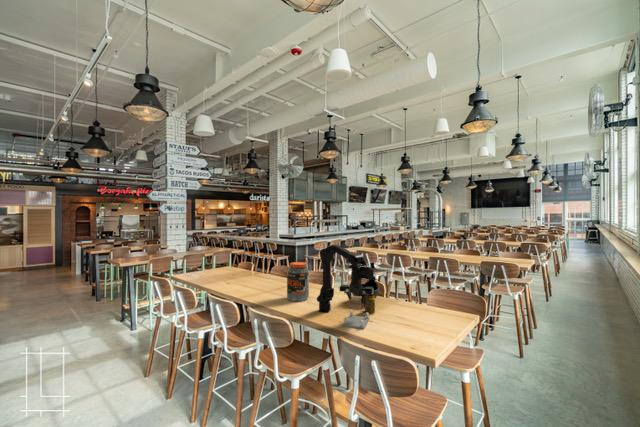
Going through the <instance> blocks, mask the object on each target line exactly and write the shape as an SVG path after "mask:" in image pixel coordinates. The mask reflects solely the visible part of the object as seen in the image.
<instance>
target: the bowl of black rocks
mask: <svg viewBox="0 0 640 427" xmlns="http://www.w3.org/2000/svg"><path fill="white" fill-rule="evenodd" d="M362 280H363V278H362ZM366 287H373V288H374V292H373V293H374V298H375V299H376V298H377V297H378V296H379V293H380V287H379V286H378V283H377V282H376V280H375V279H374V278H373V279H371V280H367V281H366V282H365V283H362V288H366ZM362 293H363V291H358V293H351V294H352V296H362ZM363 304H365V299H364V302H363Z"/></svg>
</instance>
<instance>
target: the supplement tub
mask: <svg viewBox="0 0 640 427" xmlns="http://www.w3.org/2000/svg"><path fill="white" fill-rule="evenodd" d="M286 272H287V273H286V274H287V275H286V276H287V277H286V279H287V280H286V298H287V300H289V301H292V302H303V301H307V300H308V299H309V296H310V295H309V293H310V292H309V290H310V288H309V286H310V282H309V281H310V270H309V268H308V264H307V262H301V261H293V262H290V263H289V268H288V269H287V271H286Z"/></svg>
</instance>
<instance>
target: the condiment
mask: <svg viewBox="0 0 640 427" xmlns="http://www.w3.org/2000/svg"><path fill="white" fill-rule="evenodd" d="M375 304H376V298H374V293H373V294H368V295H366V297H365V303H364V310H362V311H361V310H360V313H361V314H364V315H366V313H369V316H370V315H375V314H378V312H377V311H375V310H376V305H375Z"/></svg>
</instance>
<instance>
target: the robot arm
mask: <svg viewBox="0 0 640 427" xmlns="http://www.w3.org/2000/svg"><path fill="white" fill-rule="evenodd" d="M335 254H337V255H339V256H341V257H343V258H344V259H346V260H347V262H348V263H349V264H350V265H349V266H348V268H349V269H351V279H350V282H349V284H345V283H344V284H343V283H342V284H341V285H340V286H339V288H338V289H339V292H344V294H346V296H347V298H348V300H350V299H351V298H352V296H353V295H352V293H358V291H363V293H362V302H361V305H363V306H364V299H365V297H366V295H368V294H373V292H374V288H373V287H366V288H362V284H363V283H362V282H363V281H362V280H363V279H364V280H367V281H369V280H371V279H373V280H374V276H375V272H374V270H373V268H372V266H368V265H367V263H366V260H365V259H364V256H363V254H361V253H356V252H351V251H349V250H348V249H347V248H344V247H342V246H341V245H339V244H338V243H337V244H335V243H334V244H331V245H330V246H328V247H326V248H322V249H320V251H319V255H320V256H319V257H320V260H321V261H322V286H321V288H320V289H319V290H320V291H319V295H318V296H317V297H316V301H317V303H318V312H319V313H329V312H330V311H331V309H332V308H331V306H332V305H331V301H333V298H334V296H335V289H334V288H333V287H332V283H331V276H332V275H331V273H332V271H331V270H332V269H331V267H332V261H333V260H334V255H335ZM362 278H363V279H362Z"/></svg>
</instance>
